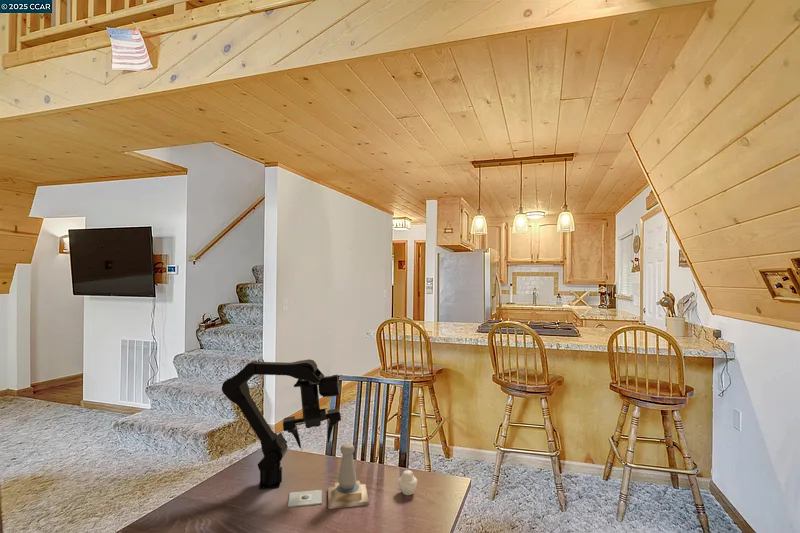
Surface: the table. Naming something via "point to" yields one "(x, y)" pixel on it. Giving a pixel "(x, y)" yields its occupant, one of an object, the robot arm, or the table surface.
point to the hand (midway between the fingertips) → (314, 445)
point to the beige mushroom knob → (347, 468)
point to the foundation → (347, 496)
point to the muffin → (407, 482)
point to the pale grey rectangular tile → (305, 498)
